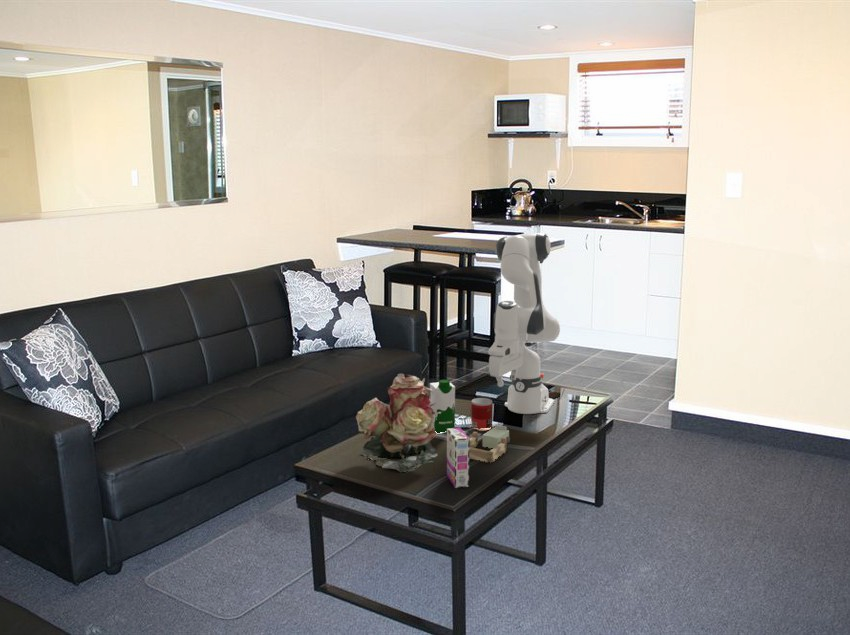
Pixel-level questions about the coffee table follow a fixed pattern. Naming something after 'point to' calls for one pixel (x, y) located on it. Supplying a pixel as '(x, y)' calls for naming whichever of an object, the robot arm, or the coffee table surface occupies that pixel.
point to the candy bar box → (458, 457)
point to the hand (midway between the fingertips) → (506, 383)
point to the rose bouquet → (400, 425)
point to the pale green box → (495, 436)
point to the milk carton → (443, 405)
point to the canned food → (481, 413)
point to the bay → (483, 454)
